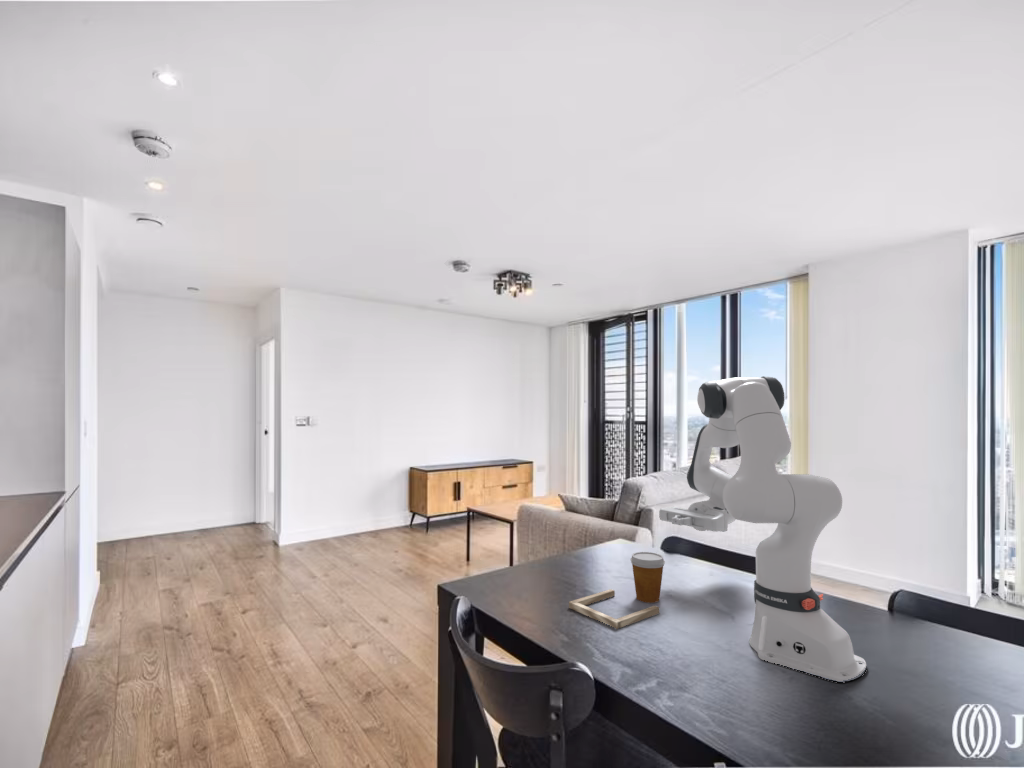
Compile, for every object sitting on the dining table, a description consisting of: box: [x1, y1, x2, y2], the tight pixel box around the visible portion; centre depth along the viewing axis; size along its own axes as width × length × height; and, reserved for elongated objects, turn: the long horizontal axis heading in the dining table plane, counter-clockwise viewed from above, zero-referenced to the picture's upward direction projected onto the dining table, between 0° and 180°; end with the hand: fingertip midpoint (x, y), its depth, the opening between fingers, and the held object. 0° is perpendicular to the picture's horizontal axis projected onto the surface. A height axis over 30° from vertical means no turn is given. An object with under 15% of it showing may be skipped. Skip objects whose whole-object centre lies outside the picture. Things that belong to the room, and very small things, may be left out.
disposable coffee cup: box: [630, 551, 666, 604], centre depth 149 cm, size 10×10×12 cm
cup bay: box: [568, 588, 660, 630], centre depth 140 cm, size 17×16×2 cm
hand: (675, 521), depth 157 cm, fingers closed
